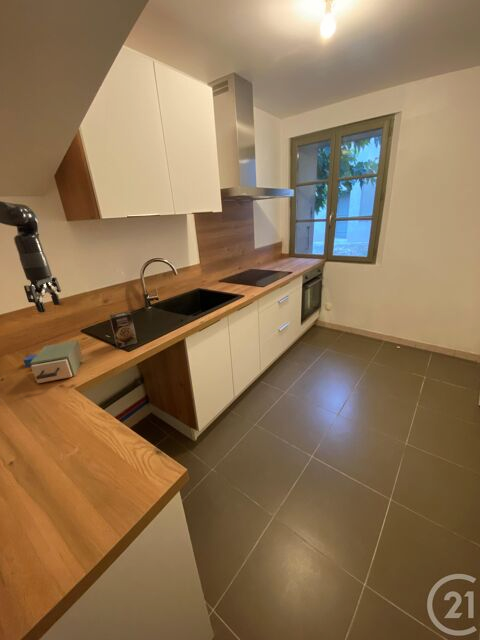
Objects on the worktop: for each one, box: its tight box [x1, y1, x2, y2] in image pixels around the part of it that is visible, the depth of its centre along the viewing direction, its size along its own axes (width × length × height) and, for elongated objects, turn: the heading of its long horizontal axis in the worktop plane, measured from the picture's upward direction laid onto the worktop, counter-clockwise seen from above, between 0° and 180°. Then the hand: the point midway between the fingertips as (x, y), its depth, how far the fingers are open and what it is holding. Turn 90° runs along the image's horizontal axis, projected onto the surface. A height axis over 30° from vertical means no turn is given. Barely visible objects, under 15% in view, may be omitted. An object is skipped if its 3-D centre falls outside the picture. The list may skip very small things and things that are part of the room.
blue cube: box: [23, 353, 38, 368], centre depth 112 cm, size 4×4×4 cm
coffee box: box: [108, 310, 138, 349], centre depth 124 cm, size 9×6×16 cm
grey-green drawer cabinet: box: [30, 340, 84, 378], centre depth 106 cm, size 15×13×9 cm
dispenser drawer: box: [30, 358, 72, 384], centre depth 102 cm, size 18×11×7 cm, turn 18°
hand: (50, 308), depth 98 cm, fingers open, 8 cm apart
